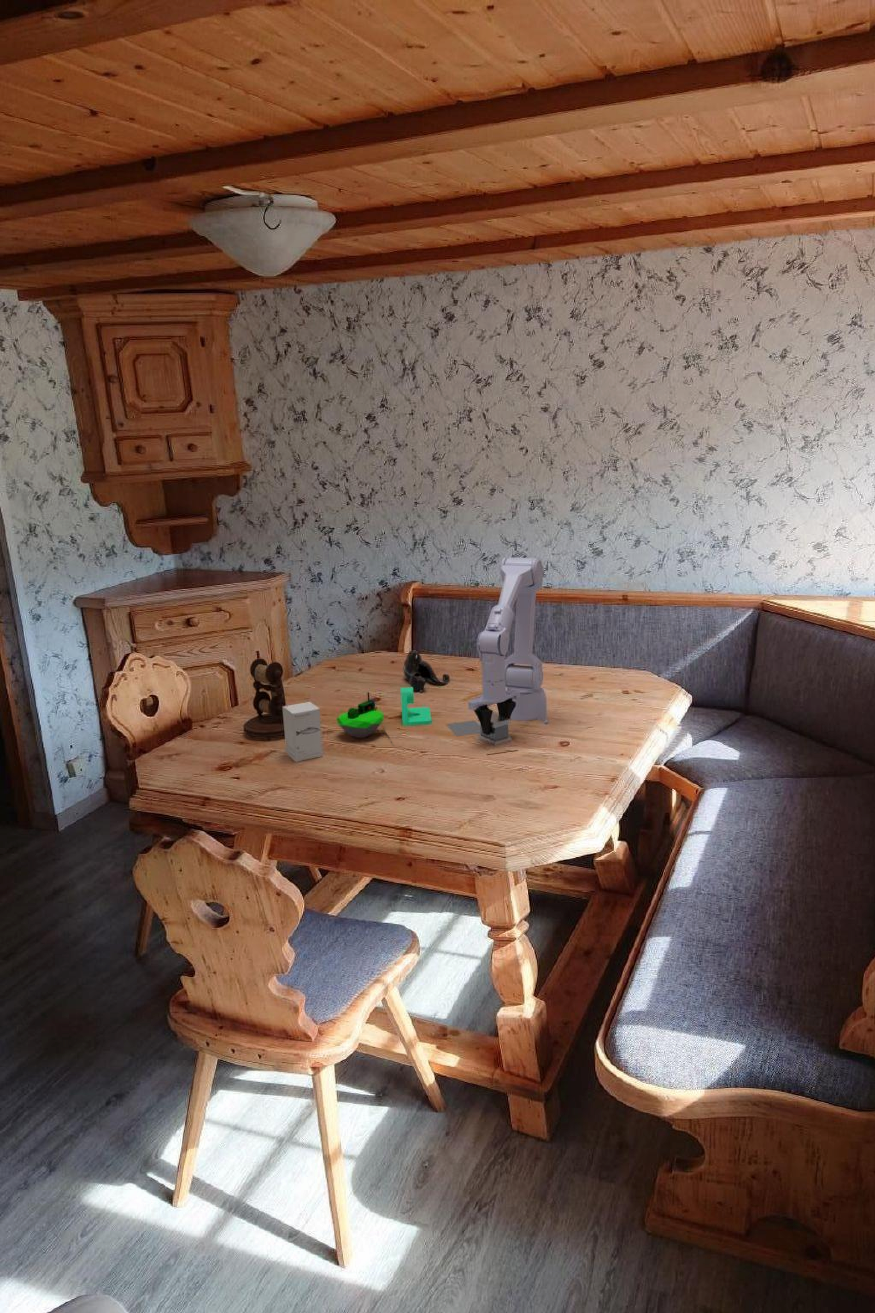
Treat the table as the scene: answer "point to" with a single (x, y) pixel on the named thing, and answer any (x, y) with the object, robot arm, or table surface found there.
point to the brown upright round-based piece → (267, 700)
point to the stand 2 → (489, 746)
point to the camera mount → (413, 710)
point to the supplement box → (302, 731)
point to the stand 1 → (465, 728)
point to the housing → (497, 731)
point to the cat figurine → (420, 672)
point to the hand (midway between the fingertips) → (495, 731)
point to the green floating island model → (361, 719)
